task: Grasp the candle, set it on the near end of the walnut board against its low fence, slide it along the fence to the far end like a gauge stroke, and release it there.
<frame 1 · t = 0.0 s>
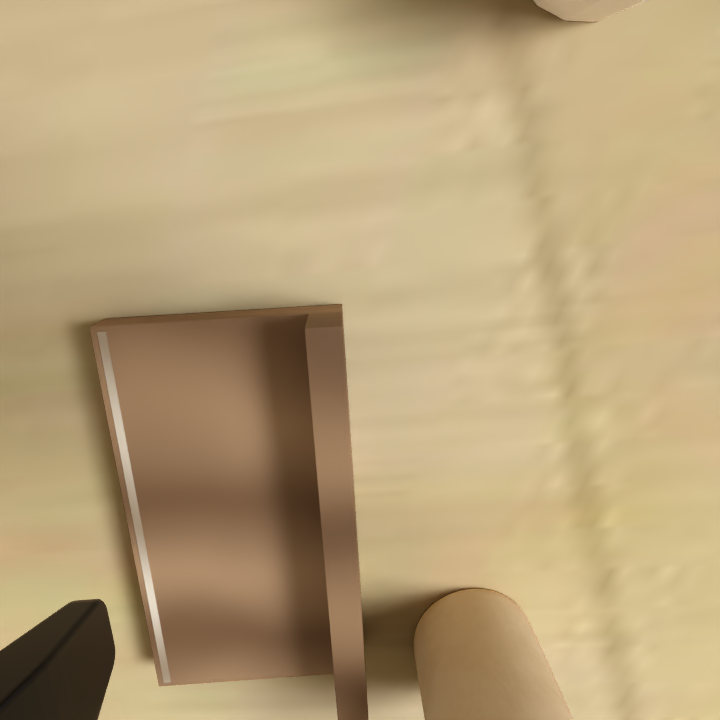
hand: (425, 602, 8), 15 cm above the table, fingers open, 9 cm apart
candle: (470, 633, 26), on the table
board: (247, 497, 24), on the table
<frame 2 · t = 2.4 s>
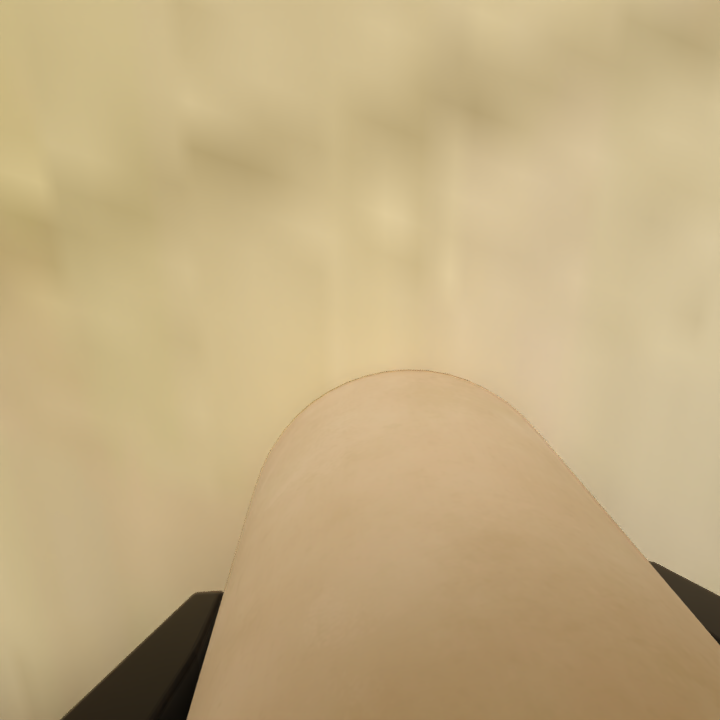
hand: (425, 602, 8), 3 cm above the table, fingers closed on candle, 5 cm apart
candle: (403, 501, 11), on the table, touching gripper
when the fingers open (4 cm above the table, at t = 7.5 s): candle stays where it is, resting on board.
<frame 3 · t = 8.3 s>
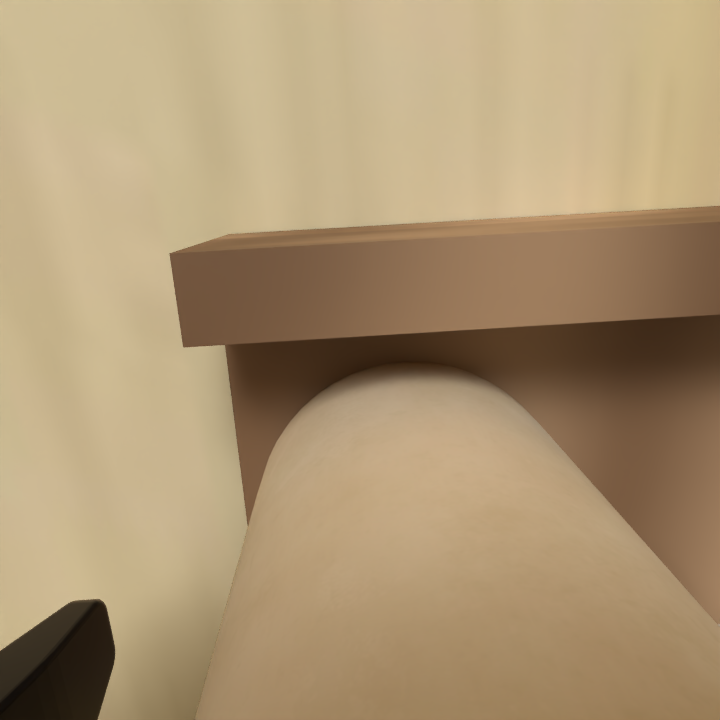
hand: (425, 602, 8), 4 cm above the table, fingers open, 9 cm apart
candle: (406, 490, 11), point 1 cm above the table, touching board
board: (626, 426, 12), on the table
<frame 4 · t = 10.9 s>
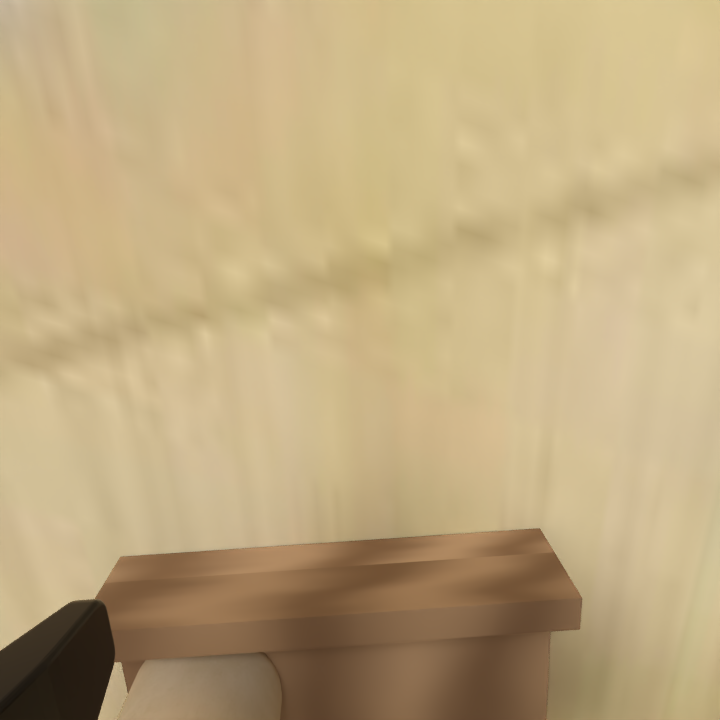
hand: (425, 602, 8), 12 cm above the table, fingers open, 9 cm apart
candle: (211, 684, 21), point 1 cm above the table, touching board
board: (339, 639, 23), on the table
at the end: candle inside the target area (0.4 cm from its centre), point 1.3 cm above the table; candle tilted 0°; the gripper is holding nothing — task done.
